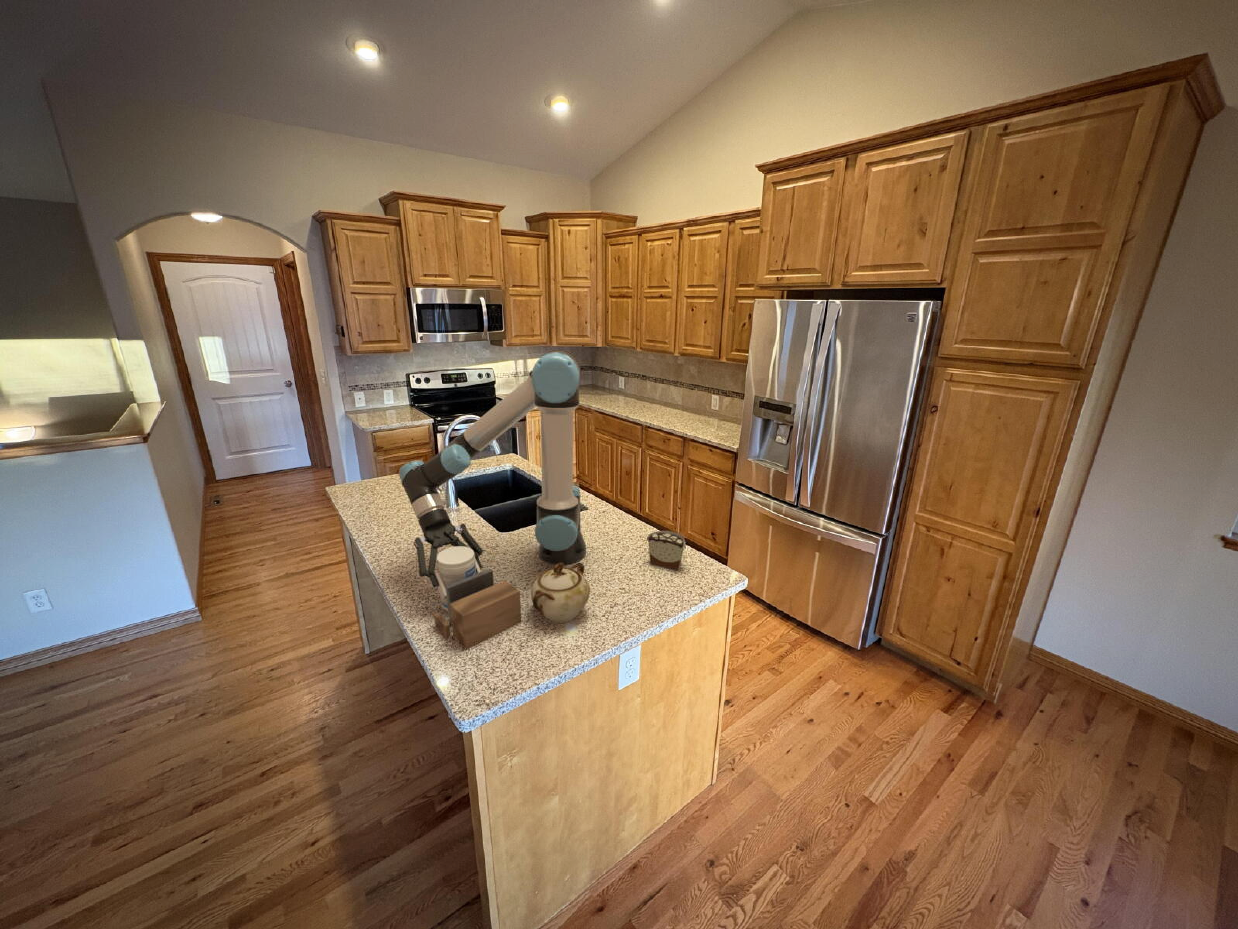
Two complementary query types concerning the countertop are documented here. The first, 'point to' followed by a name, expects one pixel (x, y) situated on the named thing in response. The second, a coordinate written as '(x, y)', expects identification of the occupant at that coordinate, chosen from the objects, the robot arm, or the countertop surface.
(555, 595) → the sugar bowl
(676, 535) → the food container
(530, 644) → the countertop surface
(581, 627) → the countertop surface
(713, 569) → the countertop surface
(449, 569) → the supplement tub
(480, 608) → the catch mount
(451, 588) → the plate
